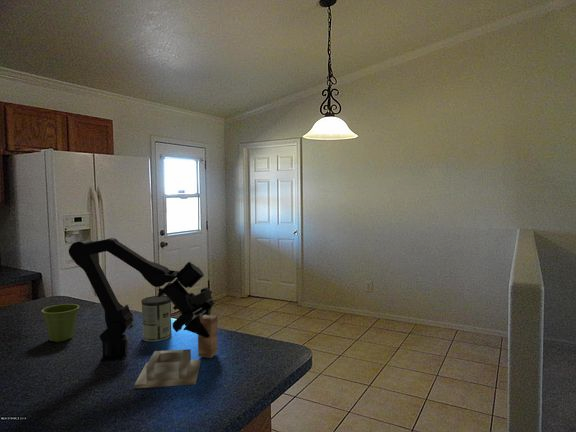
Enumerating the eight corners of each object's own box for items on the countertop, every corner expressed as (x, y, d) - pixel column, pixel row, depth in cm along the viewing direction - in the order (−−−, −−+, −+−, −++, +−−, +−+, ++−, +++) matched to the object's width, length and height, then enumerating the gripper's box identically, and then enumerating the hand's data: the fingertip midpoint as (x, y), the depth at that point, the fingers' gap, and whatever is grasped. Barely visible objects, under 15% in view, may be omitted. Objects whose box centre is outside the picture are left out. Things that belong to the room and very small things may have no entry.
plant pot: (50, 347, 128) (49, 314, 128) (36, 339, 135) (35, 309, 135) (86, 337, 138) (85, 307, 137) (71, 330, 145) (70, 302, 144)
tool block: (134, 388, 100) (134, 369, 100) (146, 365, 114) (146, 349, 114) (195, 384, 102) (195, 366, 102) (200, 362, 116) (200, 346, 116)
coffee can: (150, 331, 144) (149, 295, 143) (176, 332, 143) (175, 295, 142) (136, 341, 134) (135, 302, 133) (164, 342, 133) (163, 303, 132)
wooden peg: (198, 356, 118) (197, 318, 118) (204, 350, 123) (204, 314, 122) (211, 357, 117) (211, 320, 117) (217, 352, 122) (217, 315, 121)
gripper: (181, 287, 111) (215, 327, 109) (209, 275, 129) (239, 309, 127) (157, 312, 113) (191, 351, 111) (188, 297, 131) (218, 330, 129)
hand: (211, 334), depth 120 cm, fingers closed on wooden peg, 4 cm apart
